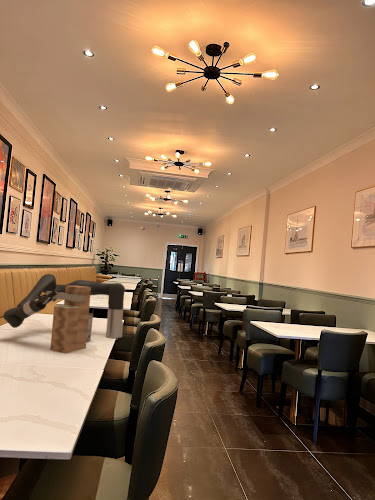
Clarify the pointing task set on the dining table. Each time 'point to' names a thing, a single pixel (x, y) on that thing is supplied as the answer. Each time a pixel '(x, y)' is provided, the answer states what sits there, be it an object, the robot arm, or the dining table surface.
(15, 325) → the robot arm
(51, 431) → the dining table surface
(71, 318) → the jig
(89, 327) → the coffee box
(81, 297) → the bar
